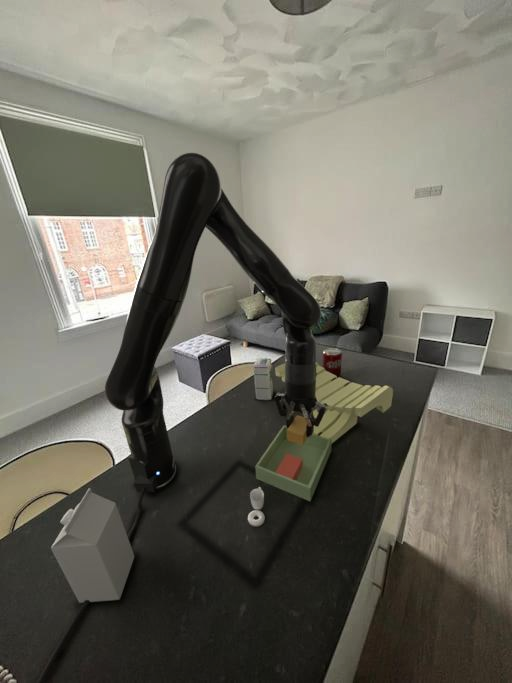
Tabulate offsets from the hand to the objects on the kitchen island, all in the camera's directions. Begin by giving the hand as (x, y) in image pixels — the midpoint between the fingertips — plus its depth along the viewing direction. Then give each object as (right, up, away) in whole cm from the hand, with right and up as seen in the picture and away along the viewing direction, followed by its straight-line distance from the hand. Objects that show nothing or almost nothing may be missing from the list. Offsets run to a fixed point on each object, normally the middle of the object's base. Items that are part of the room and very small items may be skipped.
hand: (299, 431), depth 74 cm
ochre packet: (0, -1, 0) cm, 1 cm away
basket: (-1, -9, 0) cm, 9 cm away
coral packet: (-3, -10, -4) cm, 11 cm away
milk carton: (-39, -20, -22) cm, 49 cm away
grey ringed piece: (-14, -15, -11) cm, 23 cm away
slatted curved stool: (+11, -2, +14) cm, 18 cm away
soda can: (+19, +9, +41) cm, 46 cm away
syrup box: (-8, +3, +31) cm, 33 cm away
